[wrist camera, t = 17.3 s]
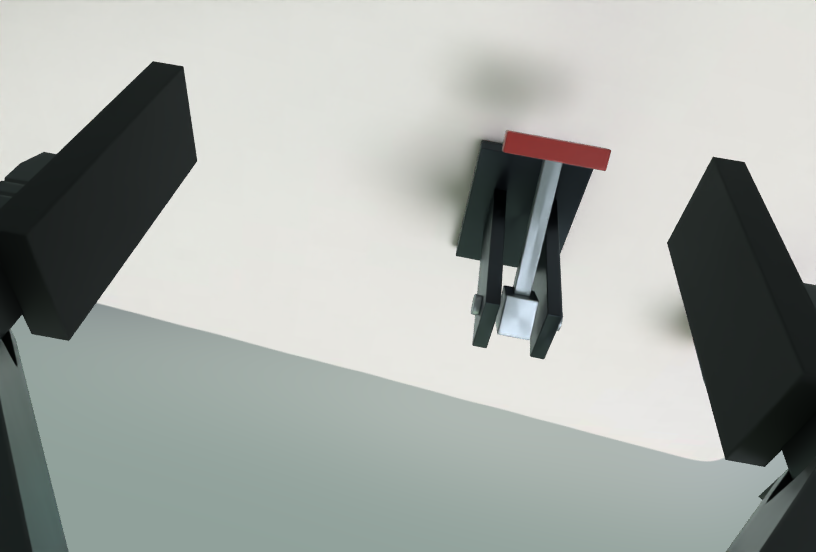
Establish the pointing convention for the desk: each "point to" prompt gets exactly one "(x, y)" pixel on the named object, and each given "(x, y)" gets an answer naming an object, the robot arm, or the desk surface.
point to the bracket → (516, 236)
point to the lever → (538, 221)
